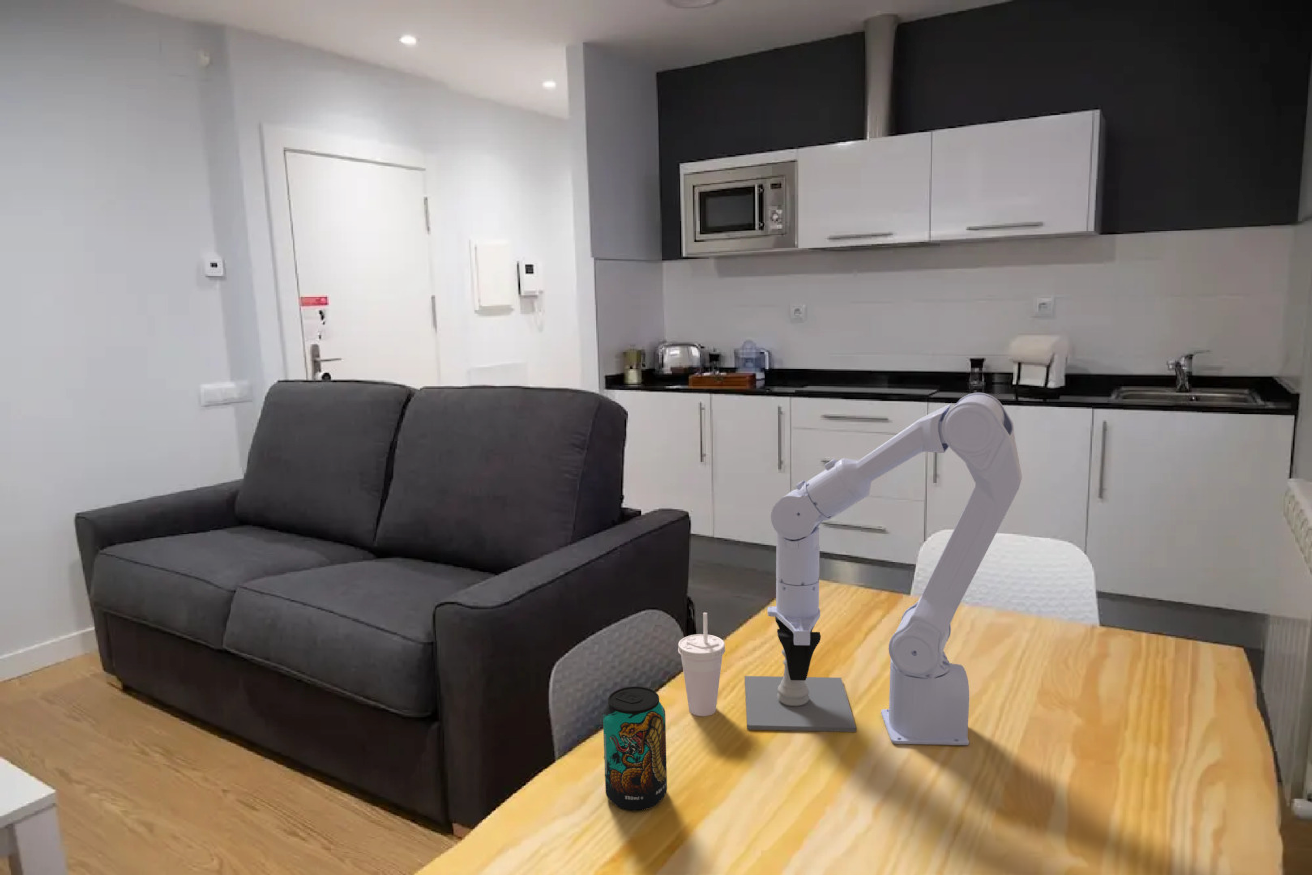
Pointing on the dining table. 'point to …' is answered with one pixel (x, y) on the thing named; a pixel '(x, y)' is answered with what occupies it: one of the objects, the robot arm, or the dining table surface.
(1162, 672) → the dining table surface
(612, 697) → the beverage can
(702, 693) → the smoothie
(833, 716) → the rubber mat
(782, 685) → the rook chess piece
